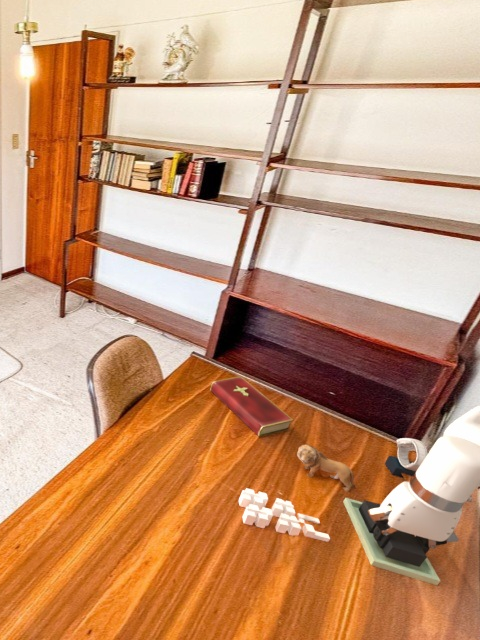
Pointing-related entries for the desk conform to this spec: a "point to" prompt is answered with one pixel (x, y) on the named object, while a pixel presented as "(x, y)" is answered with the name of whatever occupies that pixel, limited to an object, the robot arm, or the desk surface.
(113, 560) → the desk surface
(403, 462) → the watch
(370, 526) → the black square block
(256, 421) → the hardcover book
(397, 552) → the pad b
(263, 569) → the desk surface
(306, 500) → the desk surface
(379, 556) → the pale green flat tray
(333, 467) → the lion figurine
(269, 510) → the modular blocks
